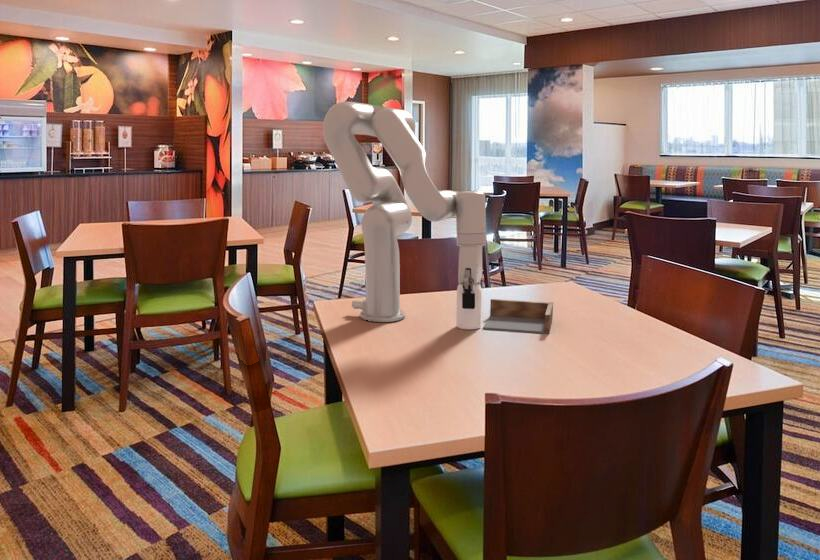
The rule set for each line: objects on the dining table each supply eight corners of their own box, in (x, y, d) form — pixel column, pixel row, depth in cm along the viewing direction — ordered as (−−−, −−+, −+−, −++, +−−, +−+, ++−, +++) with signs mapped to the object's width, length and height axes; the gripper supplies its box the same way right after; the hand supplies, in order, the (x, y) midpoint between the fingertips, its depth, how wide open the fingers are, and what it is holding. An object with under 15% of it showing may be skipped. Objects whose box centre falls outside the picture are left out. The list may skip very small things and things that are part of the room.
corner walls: (482, 329, 175) (483, 310, 174) (490, 316, 188) (491, 298, 187) (549, 333, 170) (550, 314, 169) (552, 320, 184) (553, 302, 183)
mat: (482, 329, 175) (483, 327, 175) (490, 316, 188) (490, 314, 188) (549, 333, 170) (549, 331, 170) (552, 320, 184) (552, 318, 184)
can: (479, 331, 173) (480, 285, 171) (454, 329, 174) (455, 284, 172) (481, 324, 179) (483, 280, 177) (457, 323, 180) (458, 279, 178)
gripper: (463, 235, 181) (463, 297, 184) (450, 243, 165) (451, 311, 168) (490, 235, 179) (491, 297, 182) (480, 244, 163) (481, 312, 166)
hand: (472, 304), depth 175 cm, fingers open, 9 cm apart
